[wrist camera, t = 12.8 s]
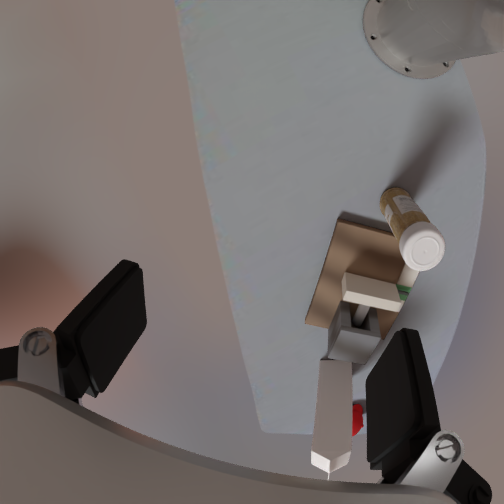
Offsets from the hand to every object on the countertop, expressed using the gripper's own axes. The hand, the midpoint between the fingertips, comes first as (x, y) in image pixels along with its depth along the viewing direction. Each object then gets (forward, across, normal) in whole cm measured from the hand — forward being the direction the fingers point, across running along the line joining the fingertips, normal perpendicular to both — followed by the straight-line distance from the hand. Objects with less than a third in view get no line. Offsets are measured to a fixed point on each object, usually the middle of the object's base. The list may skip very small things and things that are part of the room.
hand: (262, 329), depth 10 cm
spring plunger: (+29, -14, +17) cm, 36 cm away
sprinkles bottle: (+31, -13, +3) cm, 33 cm away
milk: (+31, -15, +36) cm, 50 cm away
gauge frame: (+30, -13, +16) cm, 37 cm away
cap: (+31, -24, +50) cm, 63 cm away
